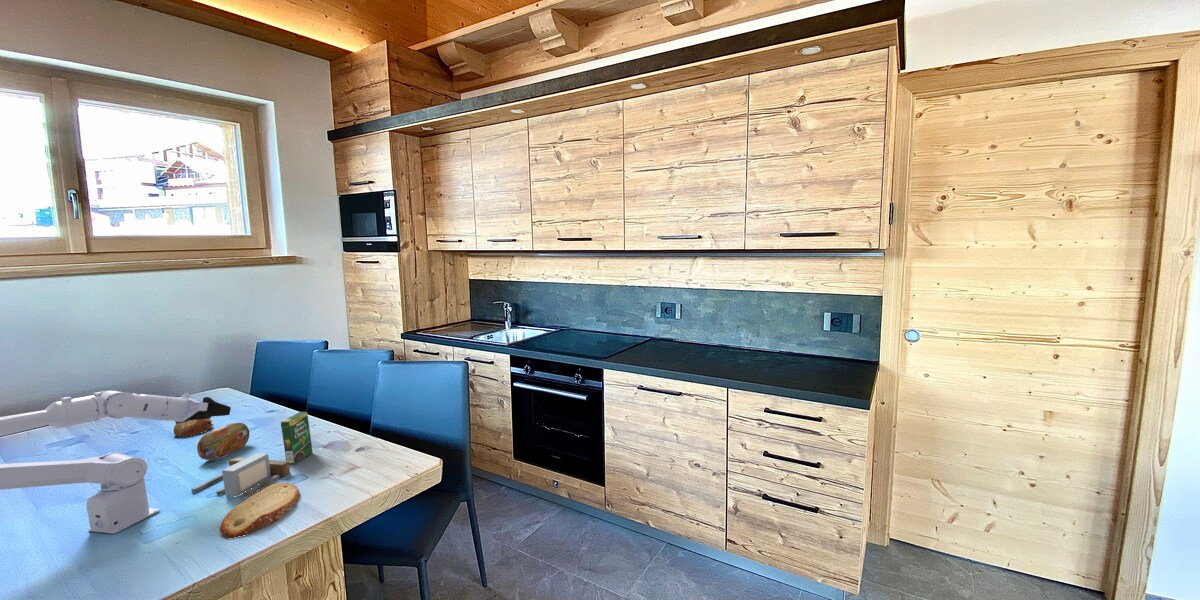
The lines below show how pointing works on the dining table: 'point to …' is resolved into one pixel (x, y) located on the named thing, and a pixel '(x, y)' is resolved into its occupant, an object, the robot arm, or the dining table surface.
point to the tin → (223, 441)
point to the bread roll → (192, 427)
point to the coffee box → (296, 437)
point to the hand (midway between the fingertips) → (220, 412)
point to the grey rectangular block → (246, 474)
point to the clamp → (275, 469)
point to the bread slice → (259, 510)
